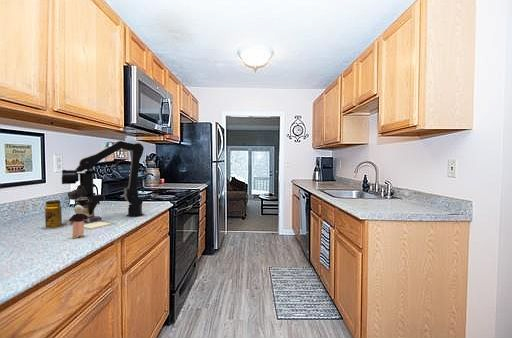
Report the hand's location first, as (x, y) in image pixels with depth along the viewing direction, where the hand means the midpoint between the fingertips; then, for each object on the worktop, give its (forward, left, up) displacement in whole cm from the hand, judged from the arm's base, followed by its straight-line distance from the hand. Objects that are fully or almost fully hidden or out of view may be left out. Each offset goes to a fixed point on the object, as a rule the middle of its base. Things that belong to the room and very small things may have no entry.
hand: (87, 214), depth 140 cm
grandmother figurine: (+21, +25, -4) cm, 33 cm away
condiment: (+14, -2, -4) cm, 15 cm away
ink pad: (0, 0, -3) cm, 3 cm away
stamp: (0, 0, -2) cm, 2 cm away
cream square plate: (+5, +13, -3) cm, 14 cm away
